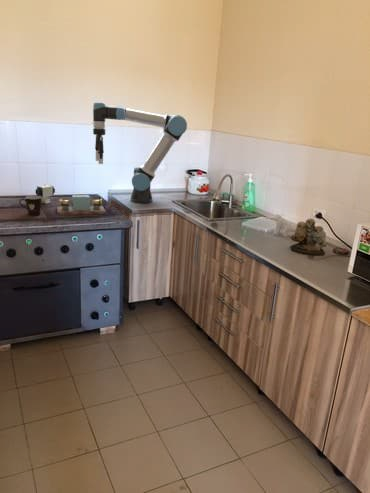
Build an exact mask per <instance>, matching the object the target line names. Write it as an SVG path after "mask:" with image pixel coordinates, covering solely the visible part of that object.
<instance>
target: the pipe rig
mask: <svg viewBox="0 0 370 493" xmlns="http://www.w3.org/2000/svg"><path fill="white" fill-rule="evenodd" d="M58 201H59V207H62V210H69V207H70V200H68V199H66V200H65V199H64V200H63V199H61V198H59V200H58ZM92 206H93V209H94V210H100V206H103V199H102V198H99V199H92Z"/></svg>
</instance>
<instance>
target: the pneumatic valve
mask: <svg viewBox="0 0 370 493" xmlns="http://www.w3.org/2000/svg"><path fill="white" fill-rule="evenodd" d="M55 193H56V189H55V187H54V185H51V184H46V183H45V184H44V185H39V186H36V189H35V196H40V197H41V204H45V205H47V204H50V203H51V202H50V201H51V199H50V197H54V194H55Z"/></svg>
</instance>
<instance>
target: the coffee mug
mask: <svg viewBox="0 0 370 493" xmlns="http://www.w3.org/2000/svg"><path fill="white" fill-rule="evenodd" d="M22 200H23V201H24V202H25V203H26V206H25V205H23V204H22V203H21V201H22ZM41 200H42V197H40V196H37V195H27V196H25V197H24V198H20V199H19V201H18V202H19V205H20V206H21V207H23V208H24V209H26V210H27V214H28V216H31V217H32V216H33V217H36V216H37V217H38V216H40V215H41V206H42V202H41Z"/></svg>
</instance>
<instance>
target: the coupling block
mask: <svg viewBox="0 0 370 493" xmlns="http://www.w3.org/2000/svg"><path fill="white" fill-rule="evenodd" d="M70 203H71V207H72V209H73V210H90V206H91V196H90V195H89V194H85V195H84V194H82V195H81V194H79V195H78V194H72V196H71V201H70Z"/></svg>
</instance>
